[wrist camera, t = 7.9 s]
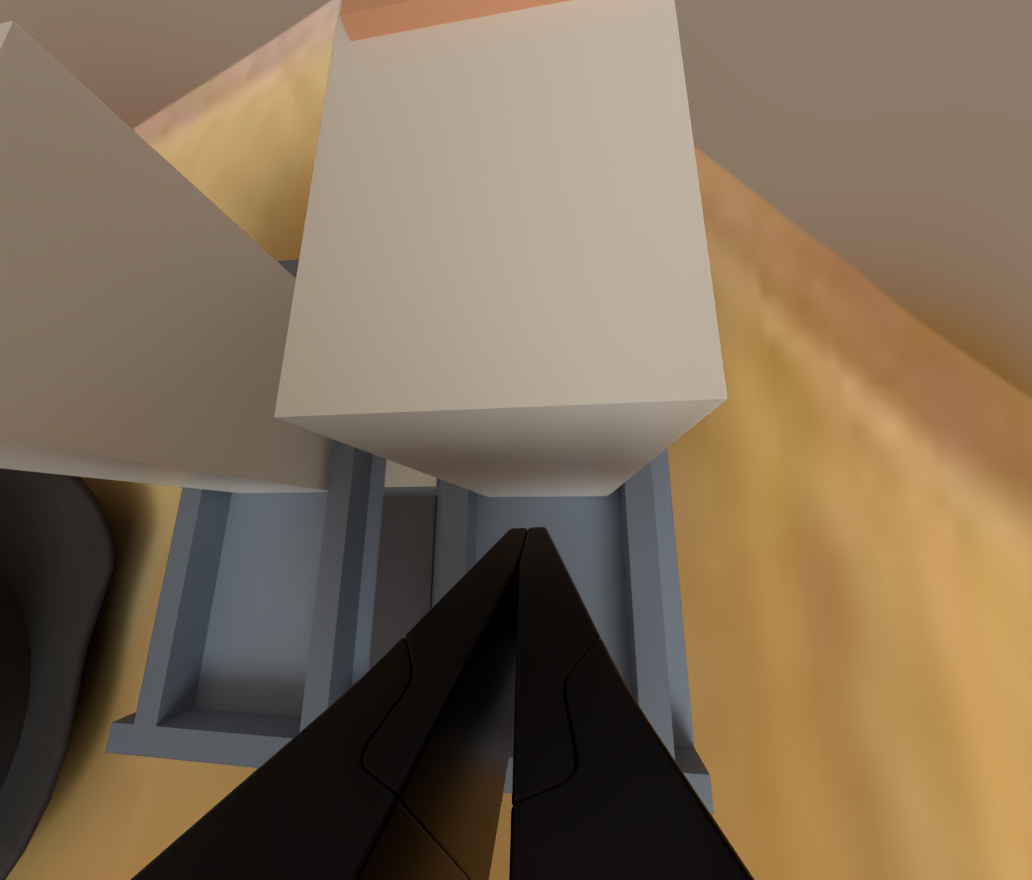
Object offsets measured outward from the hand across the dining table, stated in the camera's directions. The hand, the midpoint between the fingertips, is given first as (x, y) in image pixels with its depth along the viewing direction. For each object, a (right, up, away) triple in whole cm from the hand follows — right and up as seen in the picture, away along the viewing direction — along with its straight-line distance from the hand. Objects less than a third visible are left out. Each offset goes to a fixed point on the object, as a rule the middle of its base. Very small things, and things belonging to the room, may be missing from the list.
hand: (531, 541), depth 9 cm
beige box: (-11, +4, +10) cm, 15 cm away
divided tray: (-5, 0, +9) cm, 10 cm away
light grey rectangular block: (+1, +4, +8) cm, 9 cm away
